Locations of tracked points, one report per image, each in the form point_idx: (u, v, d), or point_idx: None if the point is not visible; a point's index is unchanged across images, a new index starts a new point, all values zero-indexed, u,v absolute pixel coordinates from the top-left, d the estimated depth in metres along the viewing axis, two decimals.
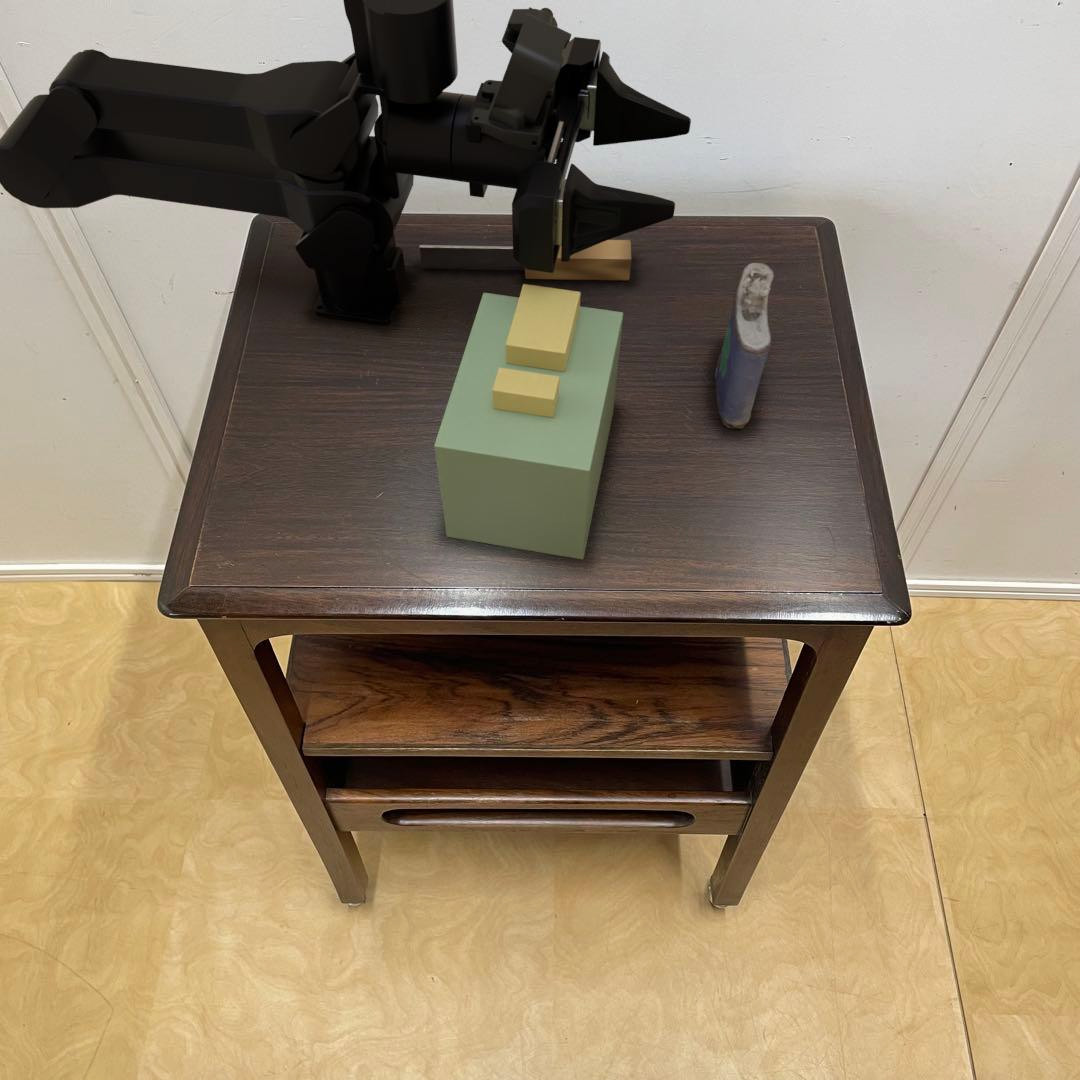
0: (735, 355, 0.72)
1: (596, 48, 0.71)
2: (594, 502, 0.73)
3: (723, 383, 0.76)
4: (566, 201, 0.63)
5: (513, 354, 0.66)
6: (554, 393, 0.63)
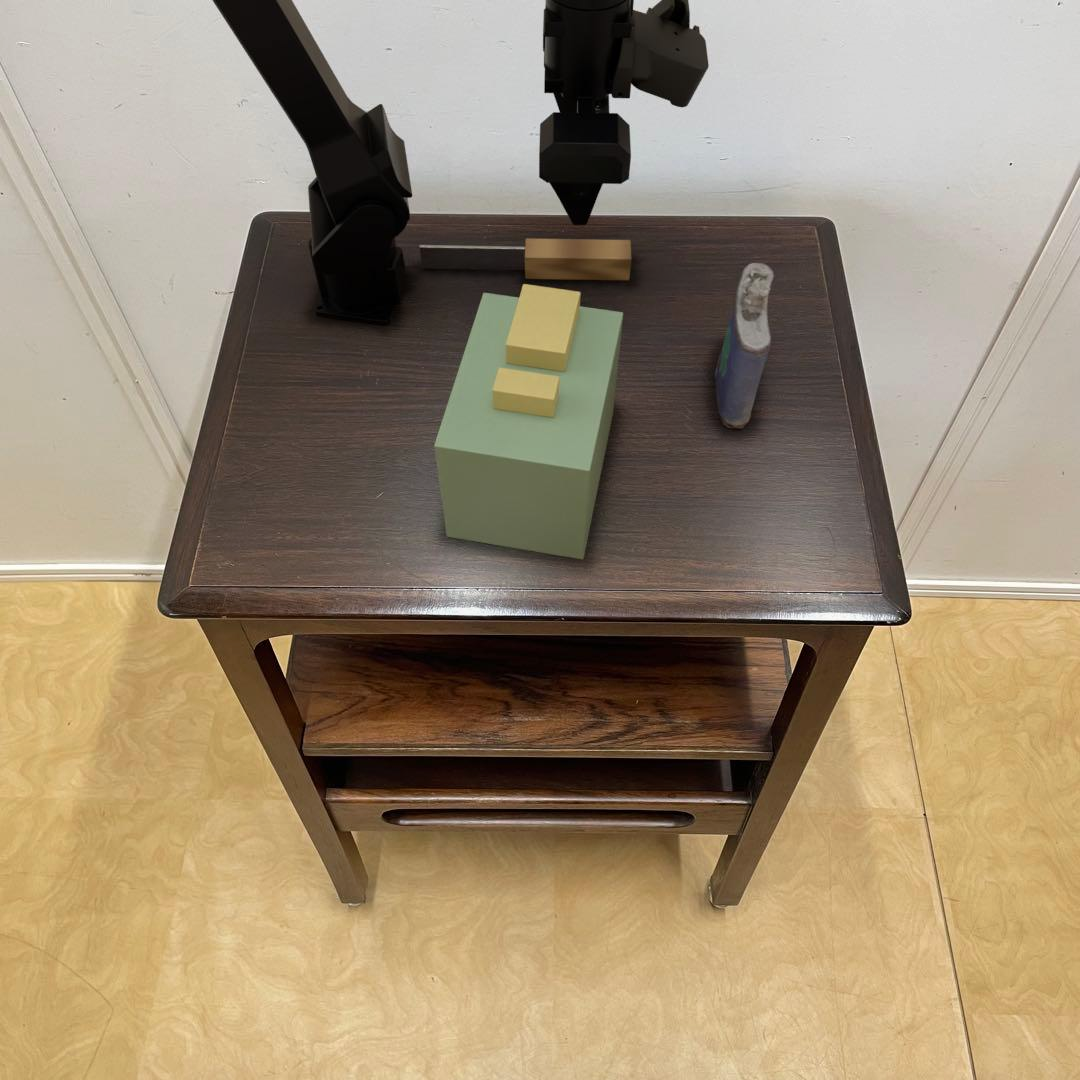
0: (735, 355, 0.72)
1: None
2: (594, 502, 0.73)
3: (723, 383, 0.76)
4: None
5: (513, 354, 0.66)
6: (554, 393, 0.63)
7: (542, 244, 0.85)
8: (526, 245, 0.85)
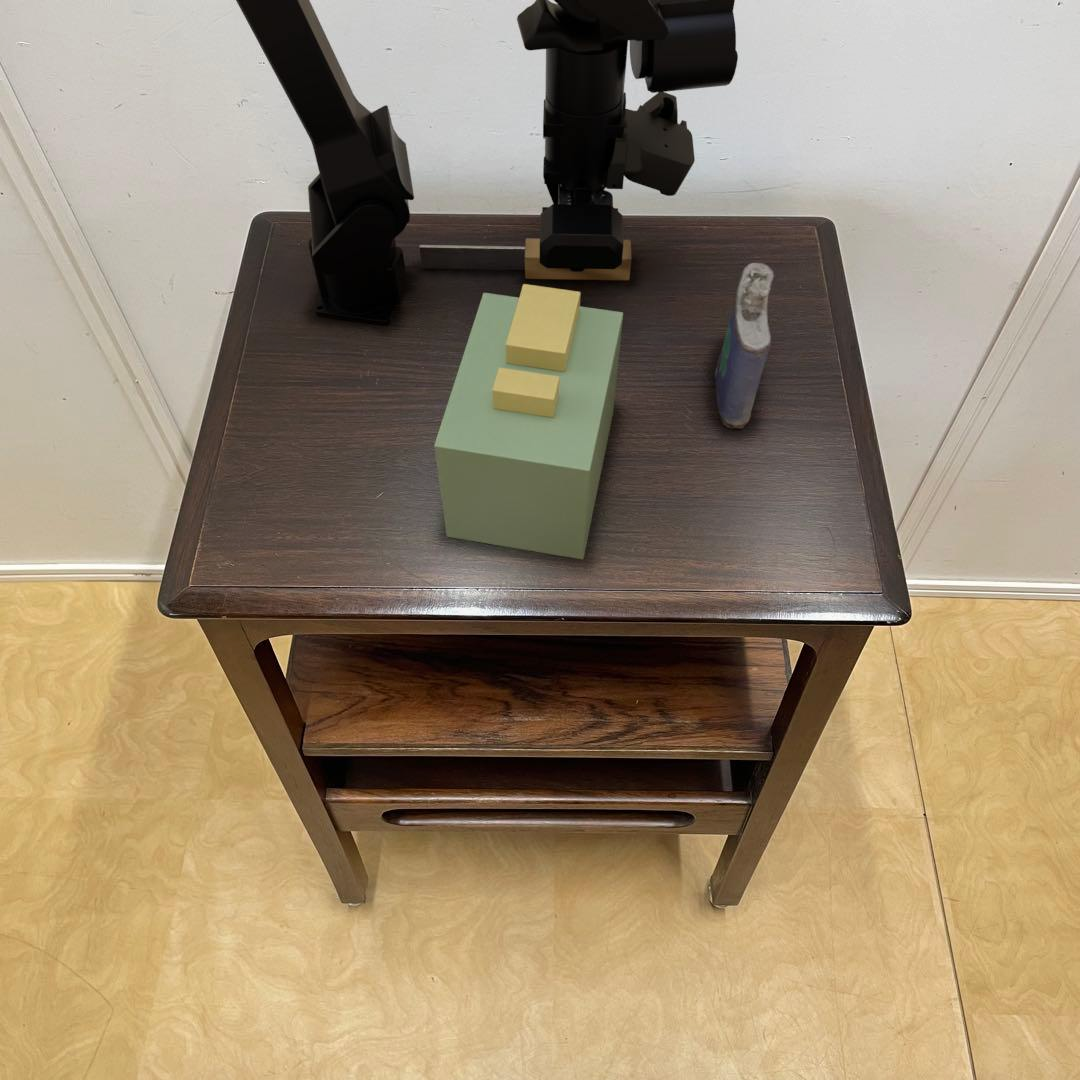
0: (735, 355, 0.72)
1: None
2: (594, 502, 0.73)
3: (723, 383, 0.76)
4: None
5: (513, 354, 0.66)
6: (554, 393, 0.63)
7: None
8: (526, 245, 0.85)
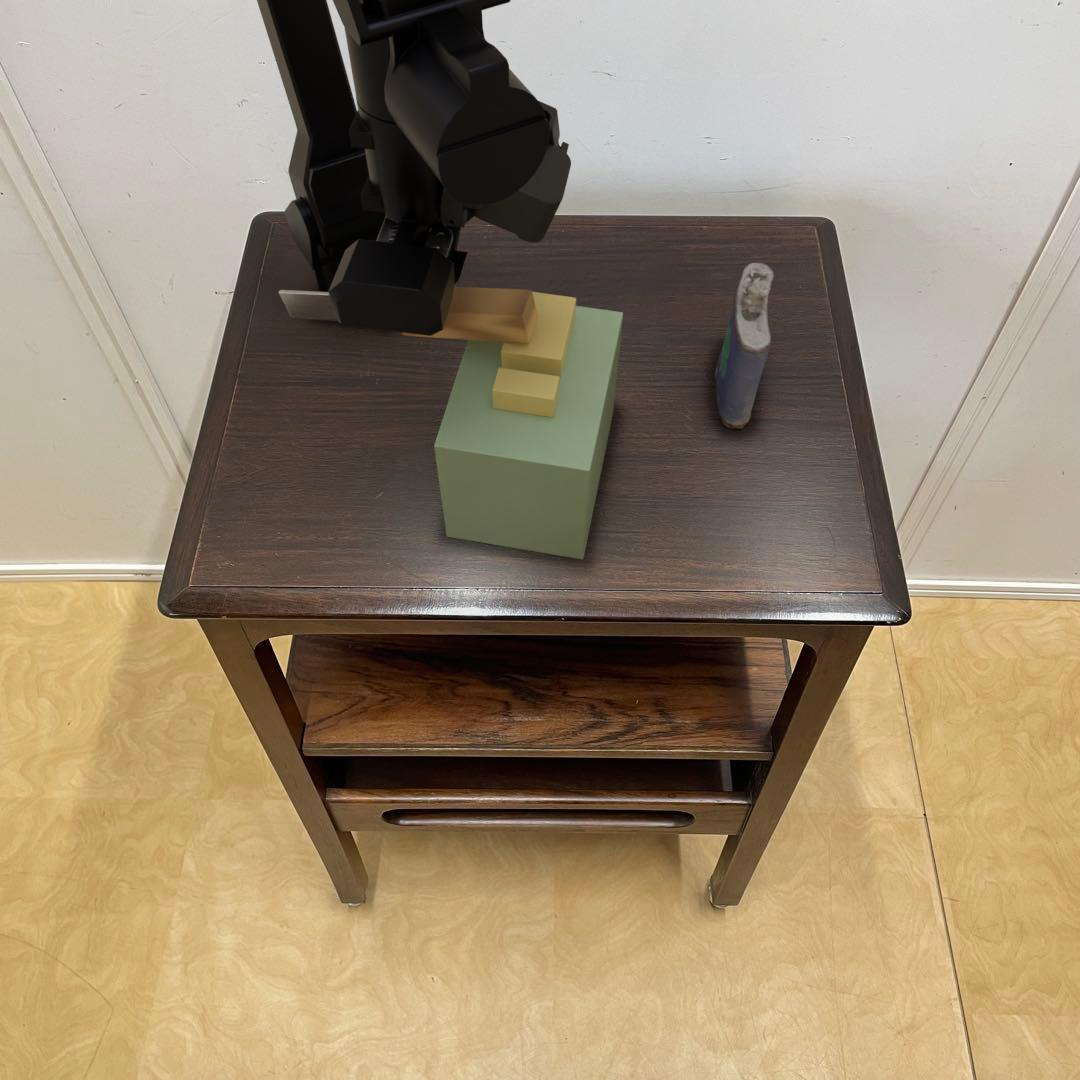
0: (735, 355, 0.72)
1: None
2: (594, 502, 0.73)
3: (723, 383, 0.76)
4: None
5: (509, 361, 0.65)
6: (554, 393, 0.63)
7: None
8: None
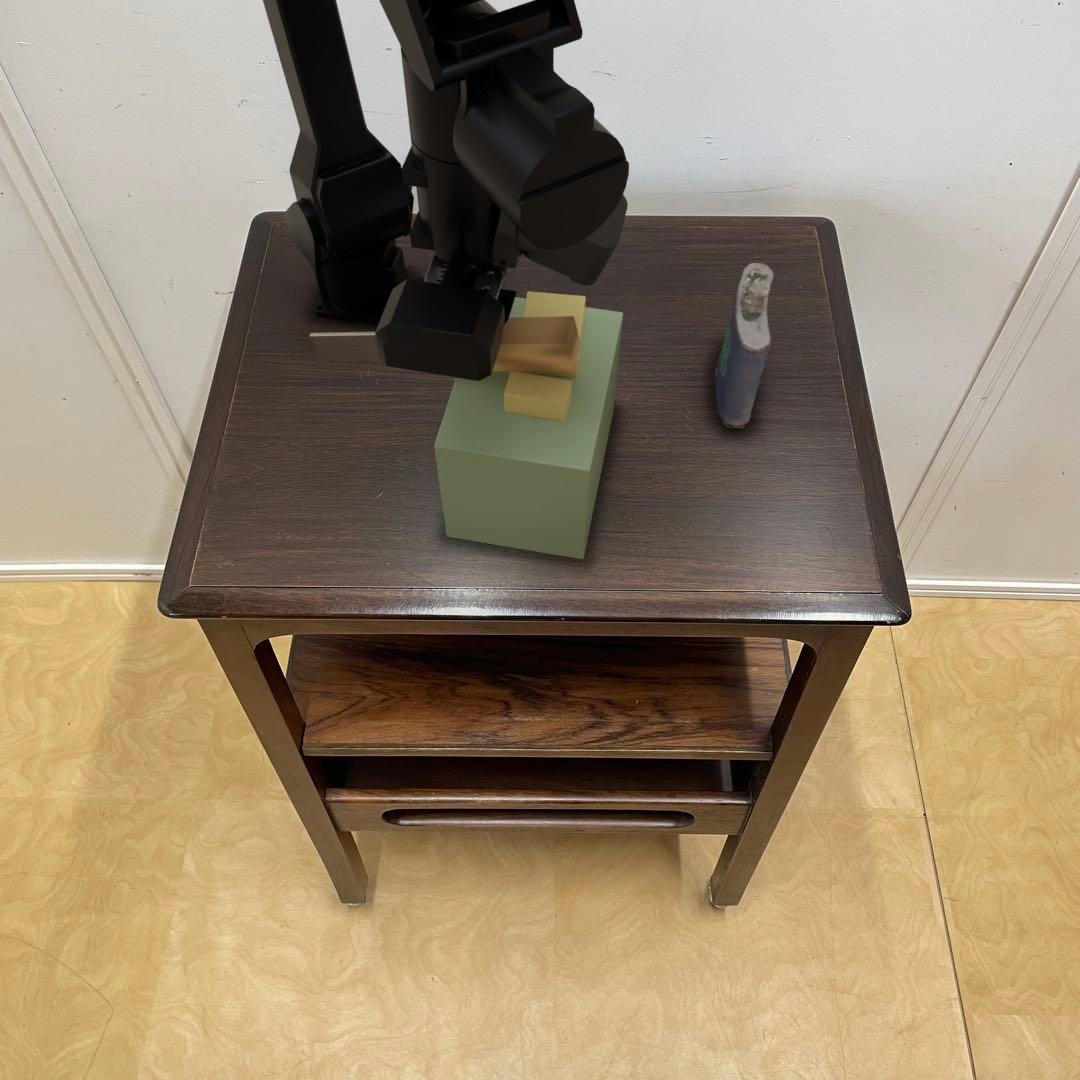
0: (735, 355, 0.72)
1: None
2: (594, 502, 0.73)
3: (723, 383, 0.76)
4: None
5: None
6: (566, 397, 0.63)
7: None
8: None
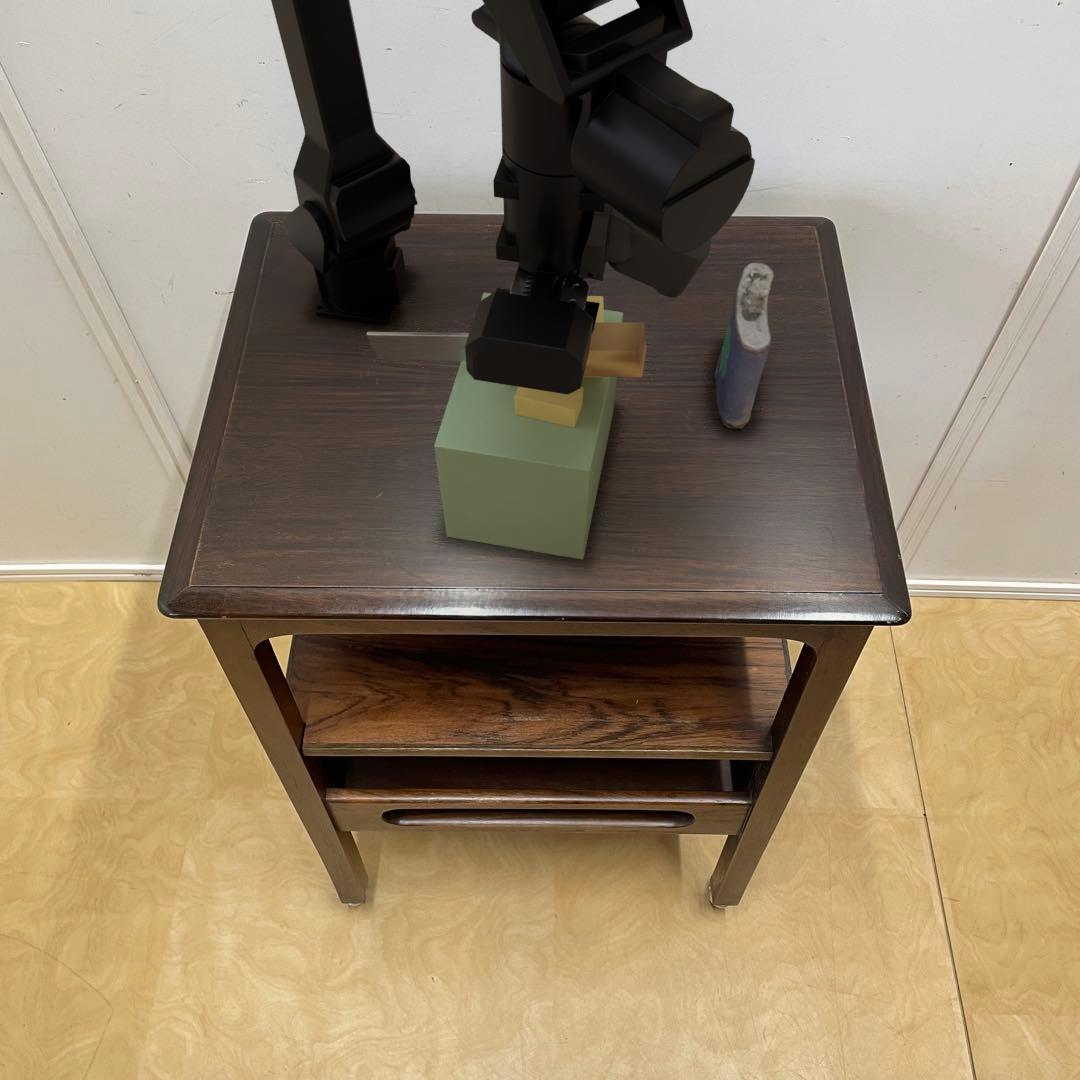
0: (735, 355, 0.72)
1: None
2: (594, 502, 0.73)
3: (723, 383, 0.76)
4: None
5: None
6: (576, 403, 0.62)
7: None
8: None
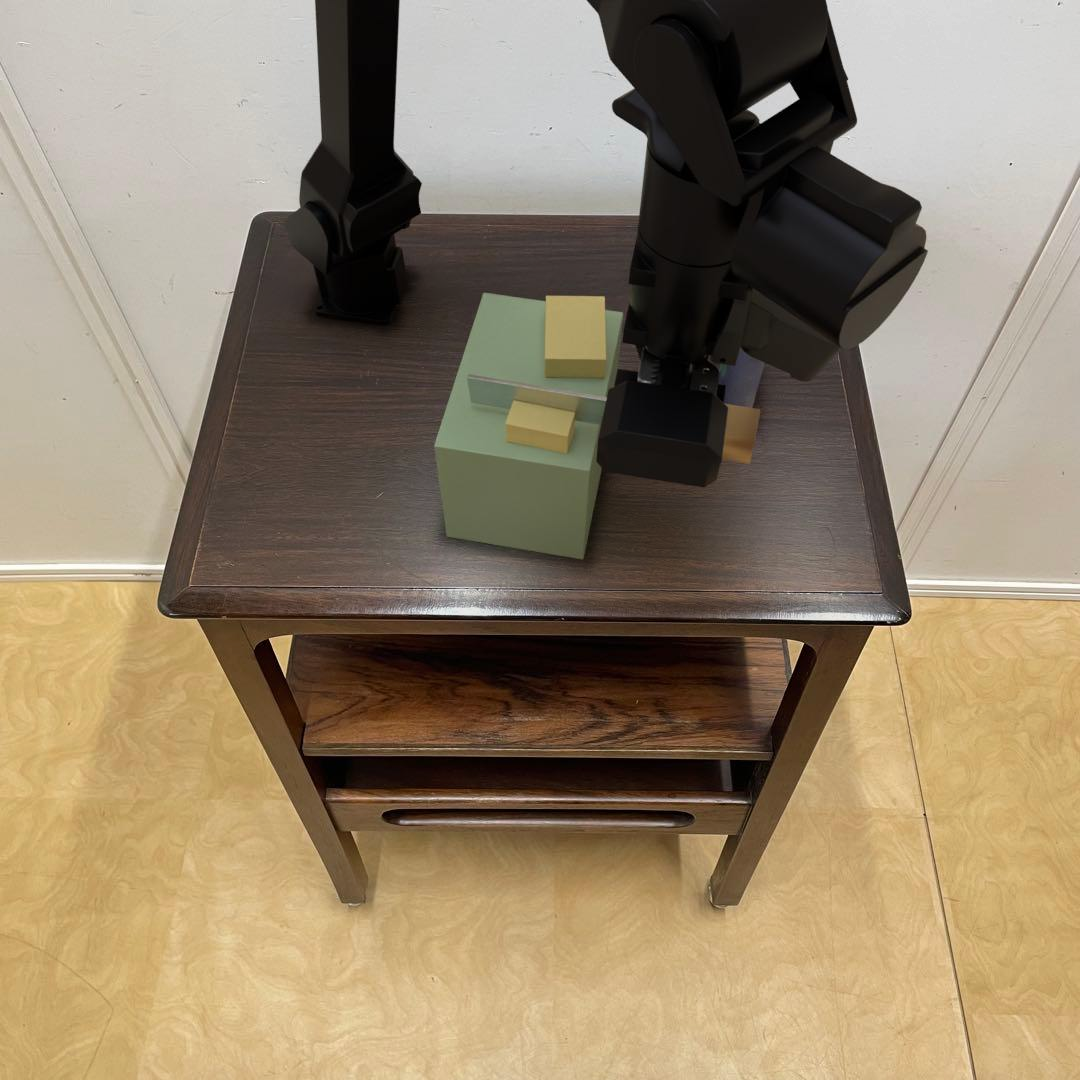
0: None
1: None
2: (594, 502, 0.73)
3: (723, 383, 0.76)
4: None
5: (552, 367, 0.65)
6: (568, 429, 0.61)
7: None
8: None
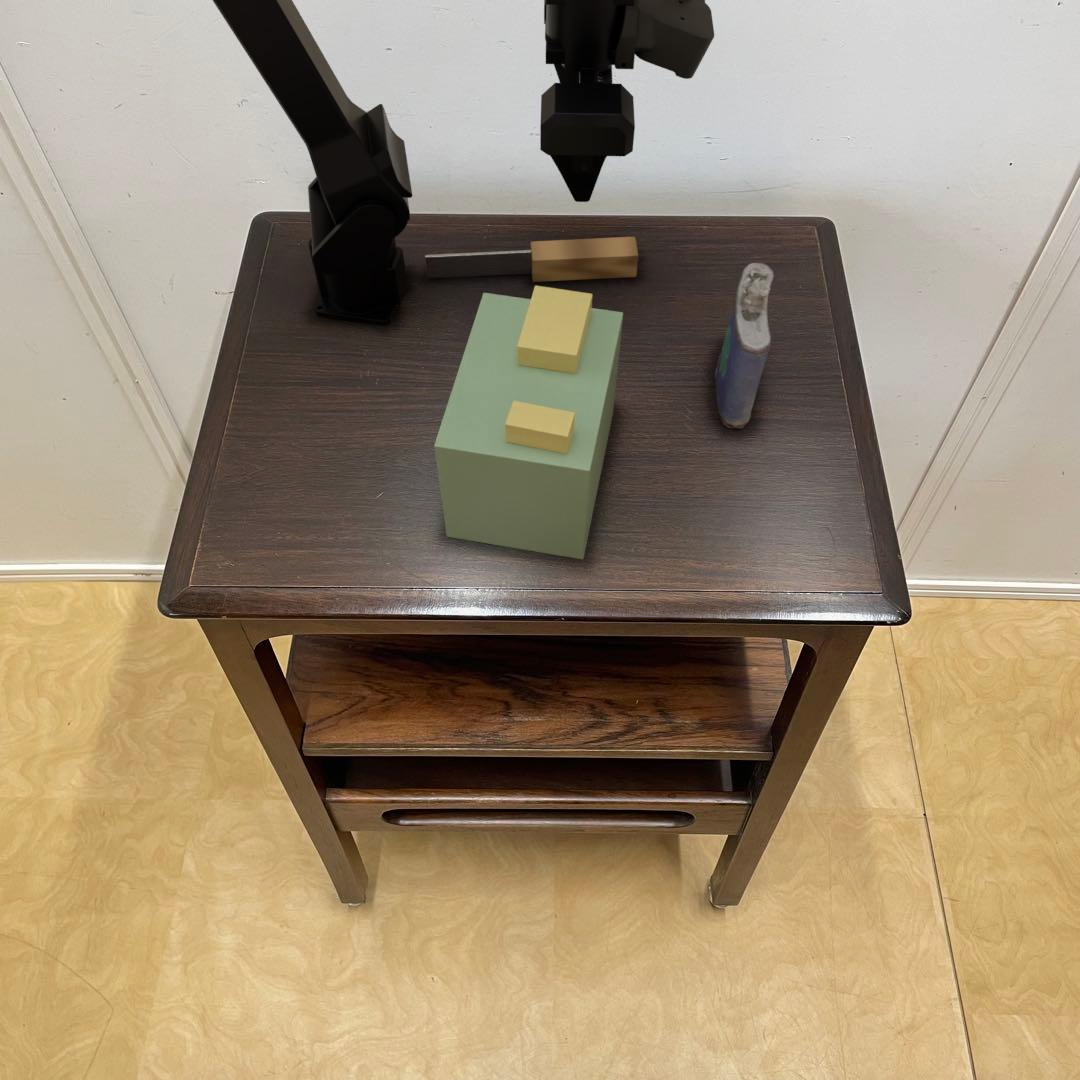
0: (735, 355, 0.72)
1: None
2: (594, 502, 0.73)
3: (723, 383, 0.76)
4: None
5: (524, 356, 0.66)
6: (568, 430, 0.61)
7: (548, 246, 0.85)
8: (532, 248, 0.85)
